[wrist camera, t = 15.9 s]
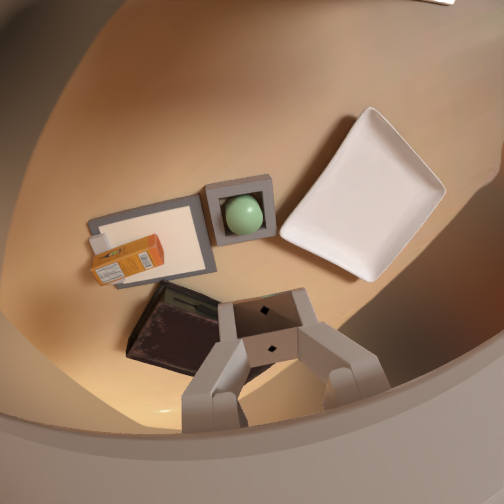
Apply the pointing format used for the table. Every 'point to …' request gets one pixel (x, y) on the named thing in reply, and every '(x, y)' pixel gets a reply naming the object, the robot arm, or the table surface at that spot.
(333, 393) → the robot arm
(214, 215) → the button bezel
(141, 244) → the supplement box
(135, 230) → the clipboard
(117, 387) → the table surface
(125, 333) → the table surface
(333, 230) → the salad plate
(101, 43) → the table surface
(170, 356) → the diary
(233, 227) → the button
